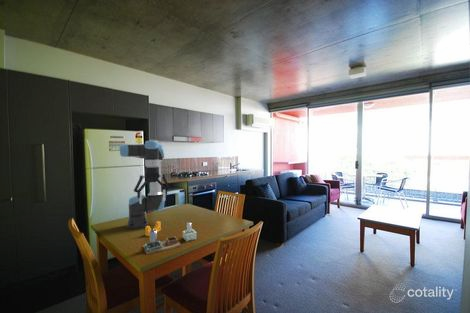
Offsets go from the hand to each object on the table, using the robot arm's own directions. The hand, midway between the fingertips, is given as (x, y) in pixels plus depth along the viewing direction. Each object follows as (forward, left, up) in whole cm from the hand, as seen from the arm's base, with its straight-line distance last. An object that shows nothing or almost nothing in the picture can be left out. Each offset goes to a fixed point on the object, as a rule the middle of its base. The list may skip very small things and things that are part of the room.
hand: (152, 201), depth 125 cm
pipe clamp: (-25, +5, -29) cm, 39 cm away
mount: (0, +5, -29) cm, 29 cm away
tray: (-2, +24, -29) cm, 37 cm away
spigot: (0, 0, -28) cm, 28 cm away
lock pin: (-2, +23, -28) cm, 36 cm away
